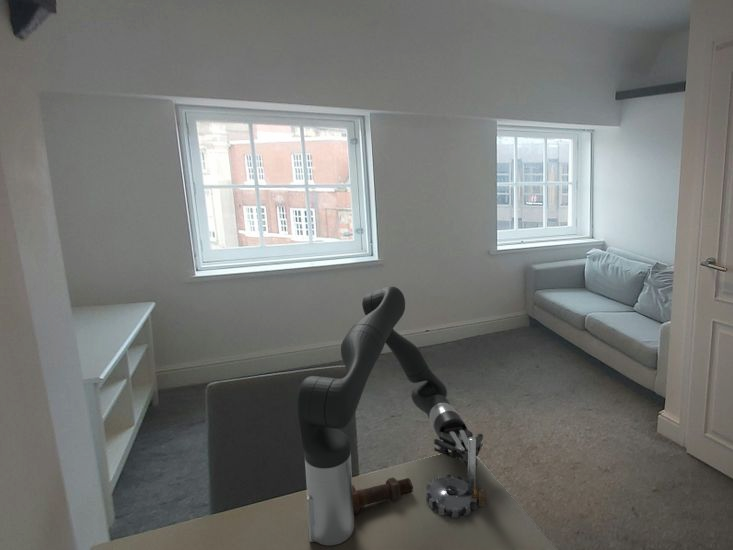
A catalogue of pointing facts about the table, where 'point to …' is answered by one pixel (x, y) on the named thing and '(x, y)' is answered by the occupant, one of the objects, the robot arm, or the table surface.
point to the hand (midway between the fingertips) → (472, 465)
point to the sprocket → (455, 489)
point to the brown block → (482, 498)
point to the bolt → (381, 493)
